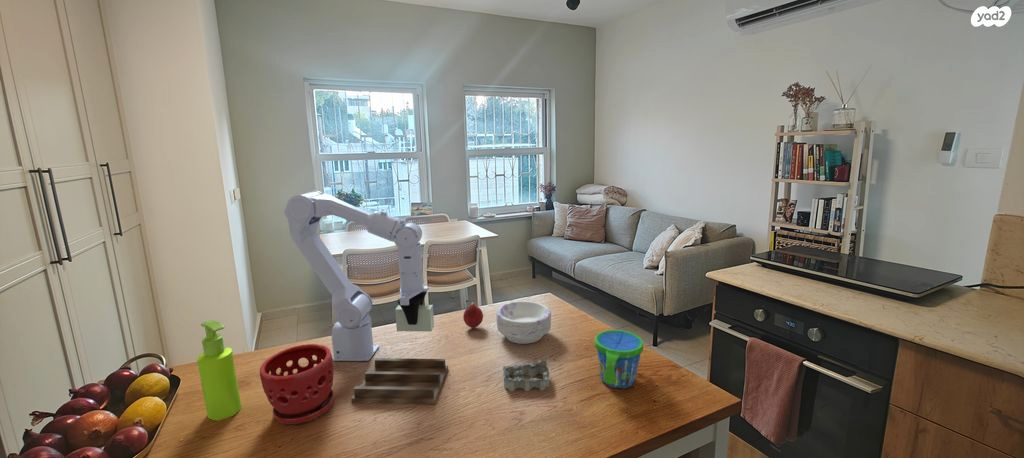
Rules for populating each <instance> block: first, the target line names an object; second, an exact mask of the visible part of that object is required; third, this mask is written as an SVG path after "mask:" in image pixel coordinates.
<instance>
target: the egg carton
mask: <svg viewBox="0 0 1024 458" xmlns="http://www.w3.org/2000/svg"><path fill="white" fill-rule="evenodd" d="M502 371H503V372H502V373H503V374H502V377H503V388H504V389H507V390H509V392H514V391H515V390H516V389H519V388H520V389H523V390H524V391H527V392H528V391H531V389H533V388H536V389H539V391H545V390H546V388H549V387H550V380H551V378H550V371H549V367H548V361H547V359H544V360H543V359H539V360H538V359H536V360H533V362H526V363H523V364H513V365H510V366H509V365H503V367H502ZM525 375H527V376H529V377H530V379H526V378H525ZM537 375H542V378H538V377H537ZM510 376H513V377H510ZM535 376H536V377H535ZM534 377H535V378H534Z"/></svg>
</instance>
